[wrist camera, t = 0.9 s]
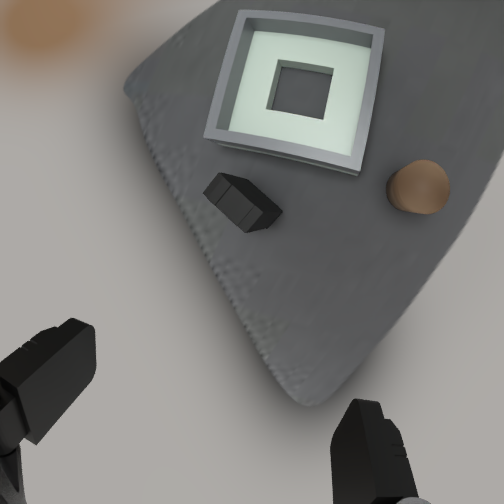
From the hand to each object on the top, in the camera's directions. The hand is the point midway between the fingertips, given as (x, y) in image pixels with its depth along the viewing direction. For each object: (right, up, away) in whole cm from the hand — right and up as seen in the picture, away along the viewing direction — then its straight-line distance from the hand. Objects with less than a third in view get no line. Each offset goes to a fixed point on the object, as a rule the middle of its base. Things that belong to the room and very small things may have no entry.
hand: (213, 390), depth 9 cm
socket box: (+6, +20, +21) cm, 29 cm away
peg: (+16, +10, +20) cm, 27 cm away
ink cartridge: (+2, +9, +24) cm, 26 cm away
